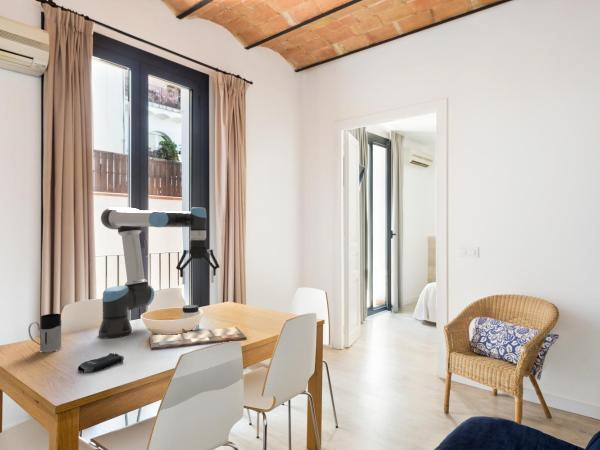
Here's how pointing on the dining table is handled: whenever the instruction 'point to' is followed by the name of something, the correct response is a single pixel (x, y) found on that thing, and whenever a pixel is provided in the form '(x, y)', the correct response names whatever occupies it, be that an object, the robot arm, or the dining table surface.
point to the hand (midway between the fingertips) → (198, 283)
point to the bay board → (196, 338)
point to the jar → (190, 312)
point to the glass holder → (49, 332)
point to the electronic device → (100, 363)
